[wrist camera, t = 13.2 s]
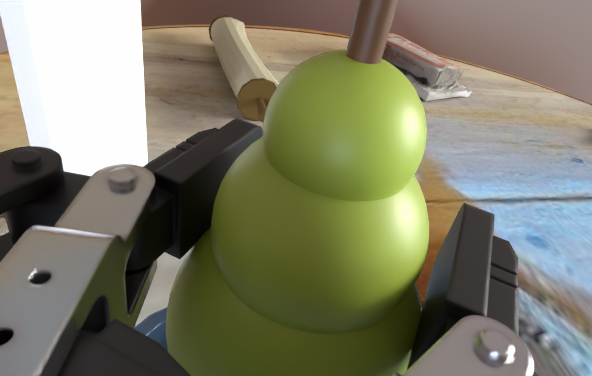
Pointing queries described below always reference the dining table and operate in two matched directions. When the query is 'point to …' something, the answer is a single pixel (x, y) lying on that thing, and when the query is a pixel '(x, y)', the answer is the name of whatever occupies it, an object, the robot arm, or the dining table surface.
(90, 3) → the milk
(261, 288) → the pear
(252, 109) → the rolling pin
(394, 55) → the packaged product
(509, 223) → the dining table surface
